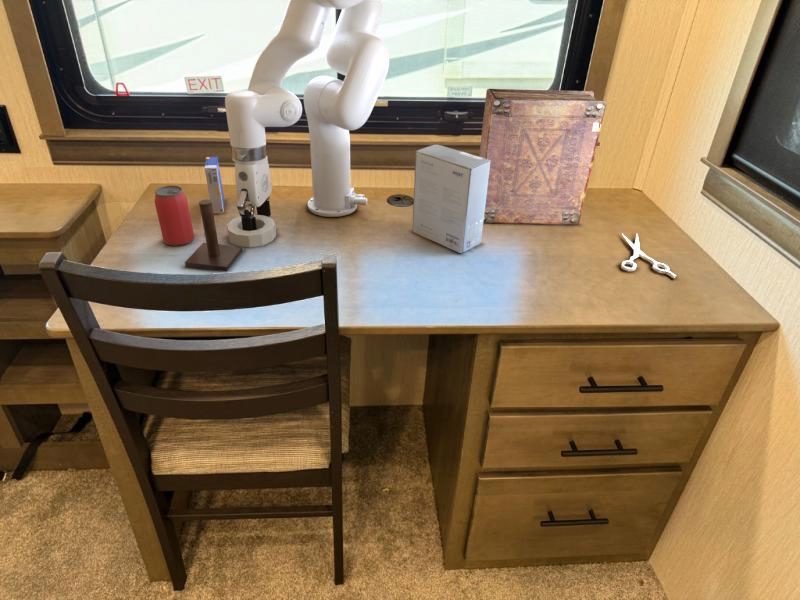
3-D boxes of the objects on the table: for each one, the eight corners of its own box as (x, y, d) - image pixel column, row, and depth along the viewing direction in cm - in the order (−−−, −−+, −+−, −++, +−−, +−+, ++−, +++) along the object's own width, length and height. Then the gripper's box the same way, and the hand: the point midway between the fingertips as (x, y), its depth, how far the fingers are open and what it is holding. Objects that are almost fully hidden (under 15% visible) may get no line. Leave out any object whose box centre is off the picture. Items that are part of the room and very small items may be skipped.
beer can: (185, 248, 122) (174, 198, 115) (157, 245, 123) (145, 194, 116) (200, 235, 127) (190, 186, 121) (173, 232, 128) (163, 182, 122)
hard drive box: (482, 243, 129) (492, 160, 117) (461, 255, 124) (471, 169, 113) (431, 222, 137) (436, 142, 126) (410, 231, 133) (414, 150, 121)
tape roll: (281, 228, 132) (280, 217, 130) (266, 249, 123) (265, 237, 122) (239, 224, 133) (237, 212, 131) (221, 244, 124) (219, 232, 123)
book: (568, 209, 146) (594, 91, 129) (578, 225, 138) (608, 101, 122) (472, 207, 145) (486, 88, 128) (477, 223, 138) (493, 98, 121)
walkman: (213, 201, 143) (205, 155, 137) (224, 200, 144) (217, 155, 137) (211, 214, 137) (203, 167, 130) (223, 213, 138) (216, 166, 131)
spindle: (243, 251, 122) (235, 195, 115) (226, 271, 115) (217, 213, 107) (204, 247, 123) (193, 191, 116) (185, 267, 116) (173, 209, 108)
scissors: (625, 271, 119) (606, 229, 135) (624, 274, 119) (605, 231, 135) (676, 275, 118) (651, 232, 134) (675, 278, 118) (650, 235, 135)
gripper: (251, 166, 113) (259, 242, 123) (278, 140, 128) (284, 210, 137) (216, 163, 114) (227, 239, 124) (247, 138, 128) (255, 207, 138)
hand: (257, 223), depth 131 cm, fingers open, 8 cm apart
